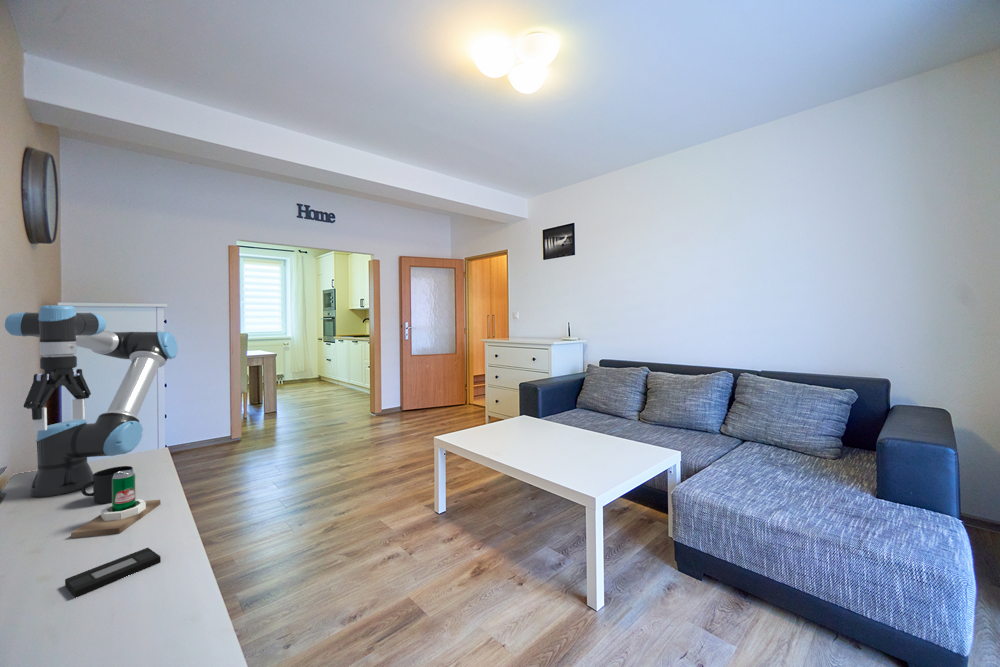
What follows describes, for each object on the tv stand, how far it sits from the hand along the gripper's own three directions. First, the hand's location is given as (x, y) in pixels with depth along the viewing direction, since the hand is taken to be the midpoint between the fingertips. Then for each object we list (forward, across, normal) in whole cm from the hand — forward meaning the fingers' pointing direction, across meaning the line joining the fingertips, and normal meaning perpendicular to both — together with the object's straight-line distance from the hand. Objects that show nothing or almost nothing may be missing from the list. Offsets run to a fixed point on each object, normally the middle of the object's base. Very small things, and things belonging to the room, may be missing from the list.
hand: (60, 424), depth 121 cm
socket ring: (+25, -10, -22) cm, 35 cm away
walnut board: (+27, -11, -22) cm, 36 cm away
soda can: (+25, -10, -22) cm, 35 cm away
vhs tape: (+27, -40, -39) cm, 62 cm away
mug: (+27, +6, -8) cm, 29 cm away
